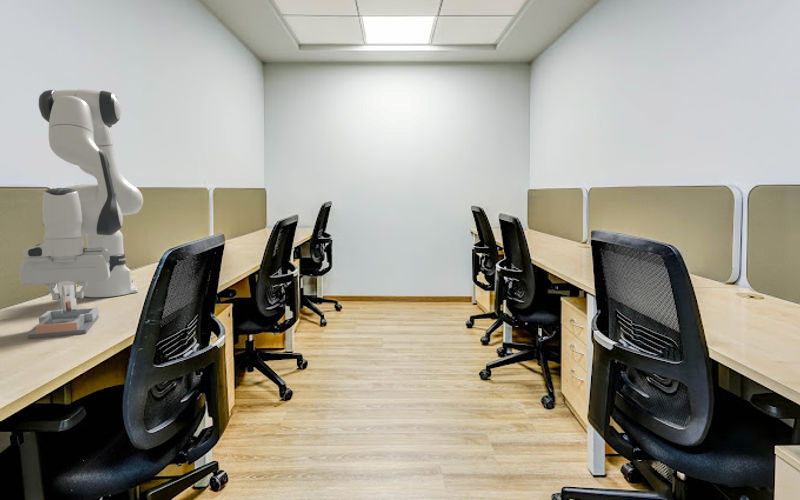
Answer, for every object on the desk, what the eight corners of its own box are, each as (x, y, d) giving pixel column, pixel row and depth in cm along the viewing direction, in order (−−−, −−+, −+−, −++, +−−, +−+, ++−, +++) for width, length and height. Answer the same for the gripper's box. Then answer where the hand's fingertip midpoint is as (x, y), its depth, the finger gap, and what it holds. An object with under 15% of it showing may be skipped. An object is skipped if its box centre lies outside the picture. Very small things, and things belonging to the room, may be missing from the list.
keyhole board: (48, 321, 136) (47, 311, 135) (98, 317, 140) (97, 307, 140) (28, 338, 119) (27, 326, 119) (85, 333, 124) (85, 321, 124)
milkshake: (85, 310, 135) (83, 275, 134) (66, 315, 130) (64, 278, 129) (73, 309, 137) (71, 274, 136) (54, 313, 132) (52, 276, 131)
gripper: (110, 246, 139) (113, 294, 140) (23, 248, 131) (27, 299, 132) (107, 248, 133) (110, 298, 134) (15, 251, 125) (19, 304, 126)
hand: (68, 299), depth 133 cm, fingers closed on milkshake, 4 cm apart
